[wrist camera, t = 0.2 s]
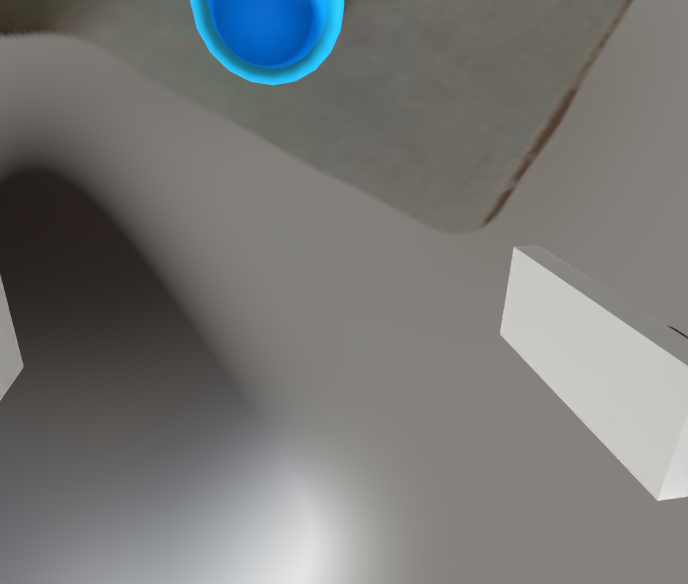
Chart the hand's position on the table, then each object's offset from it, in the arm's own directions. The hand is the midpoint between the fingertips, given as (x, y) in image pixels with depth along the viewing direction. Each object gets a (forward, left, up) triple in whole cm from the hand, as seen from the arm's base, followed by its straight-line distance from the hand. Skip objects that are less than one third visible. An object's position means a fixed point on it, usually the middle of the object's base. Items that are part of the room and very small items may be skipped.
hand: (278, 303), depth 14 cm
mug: (-10, 0, -28) cm, 30 cm away
